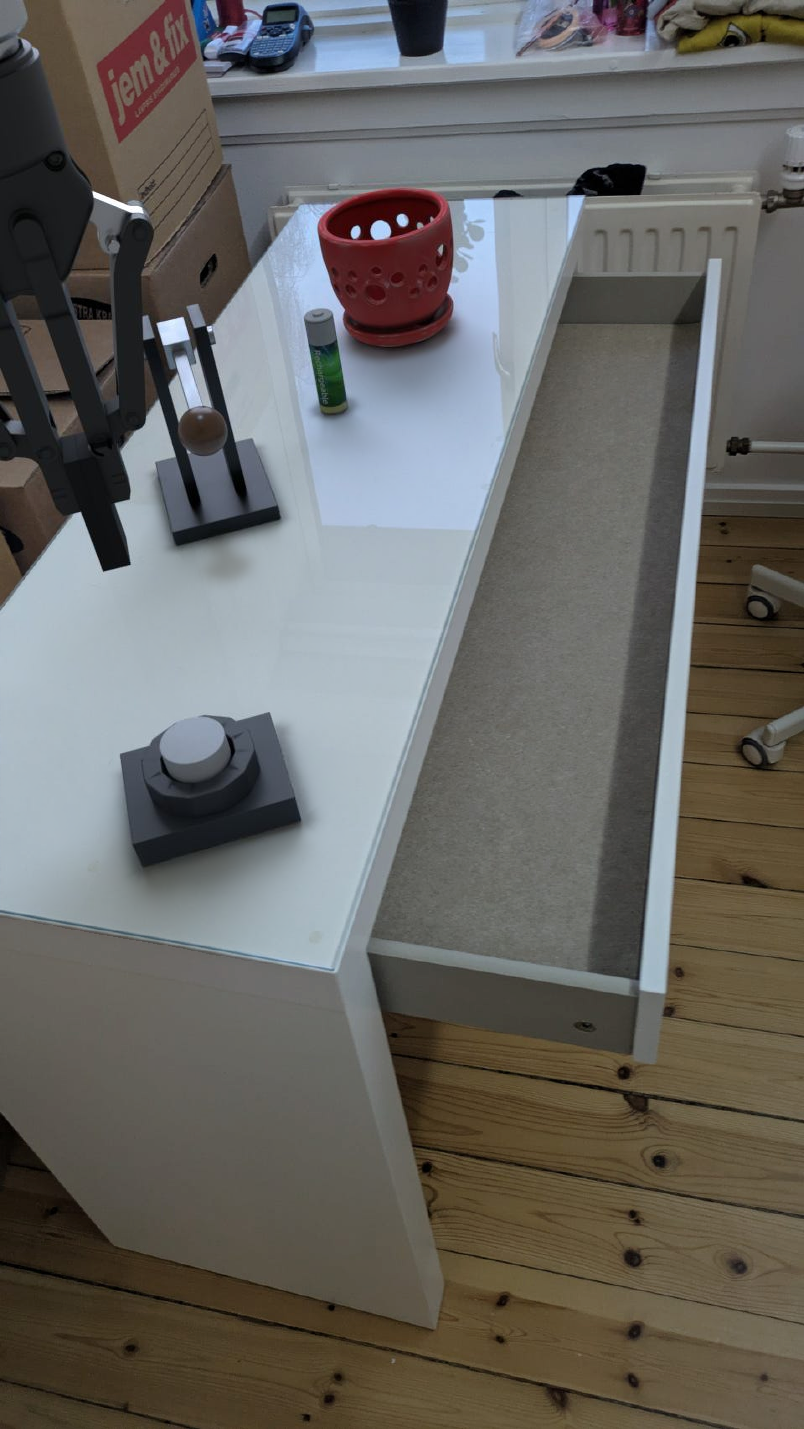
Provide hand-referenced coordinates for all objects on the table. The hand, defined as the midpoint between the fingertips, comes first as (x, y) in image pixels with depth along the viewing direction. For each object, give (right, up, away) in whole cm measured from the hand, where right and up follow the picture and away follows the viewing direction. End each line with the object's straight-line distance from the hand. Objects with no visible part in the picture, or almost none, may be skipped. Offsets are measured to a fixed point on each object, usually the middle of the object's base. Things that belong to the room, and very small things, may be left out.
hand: (114, 554), depth 58 cm
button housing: (+3, -14, +12) cm, 18 cm away
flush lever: (-1, +15, +26) cm, 30 cm away
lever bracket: (-1, +11, +37) cm, 38 cm away
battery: (+9, +20, +46) cm, 51 cm away
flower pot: (+15, +32, +56) cm, 66 cm away
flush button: (+3, -11, +9) cm, 15 cm away
